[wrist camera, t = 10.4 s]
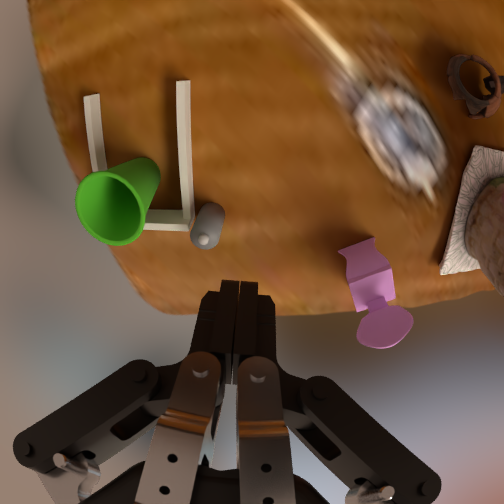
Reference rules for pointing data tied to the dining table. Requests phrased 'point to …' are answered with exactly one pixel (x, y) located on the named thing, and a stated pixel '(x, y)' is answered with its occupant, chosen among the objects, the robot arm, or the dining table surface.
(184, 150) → the bay
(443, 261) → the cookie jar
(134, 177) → the cup
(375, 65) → the dining table surface
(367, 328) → the toy chair
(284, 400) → the robot arm
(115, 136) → the dining table surface
